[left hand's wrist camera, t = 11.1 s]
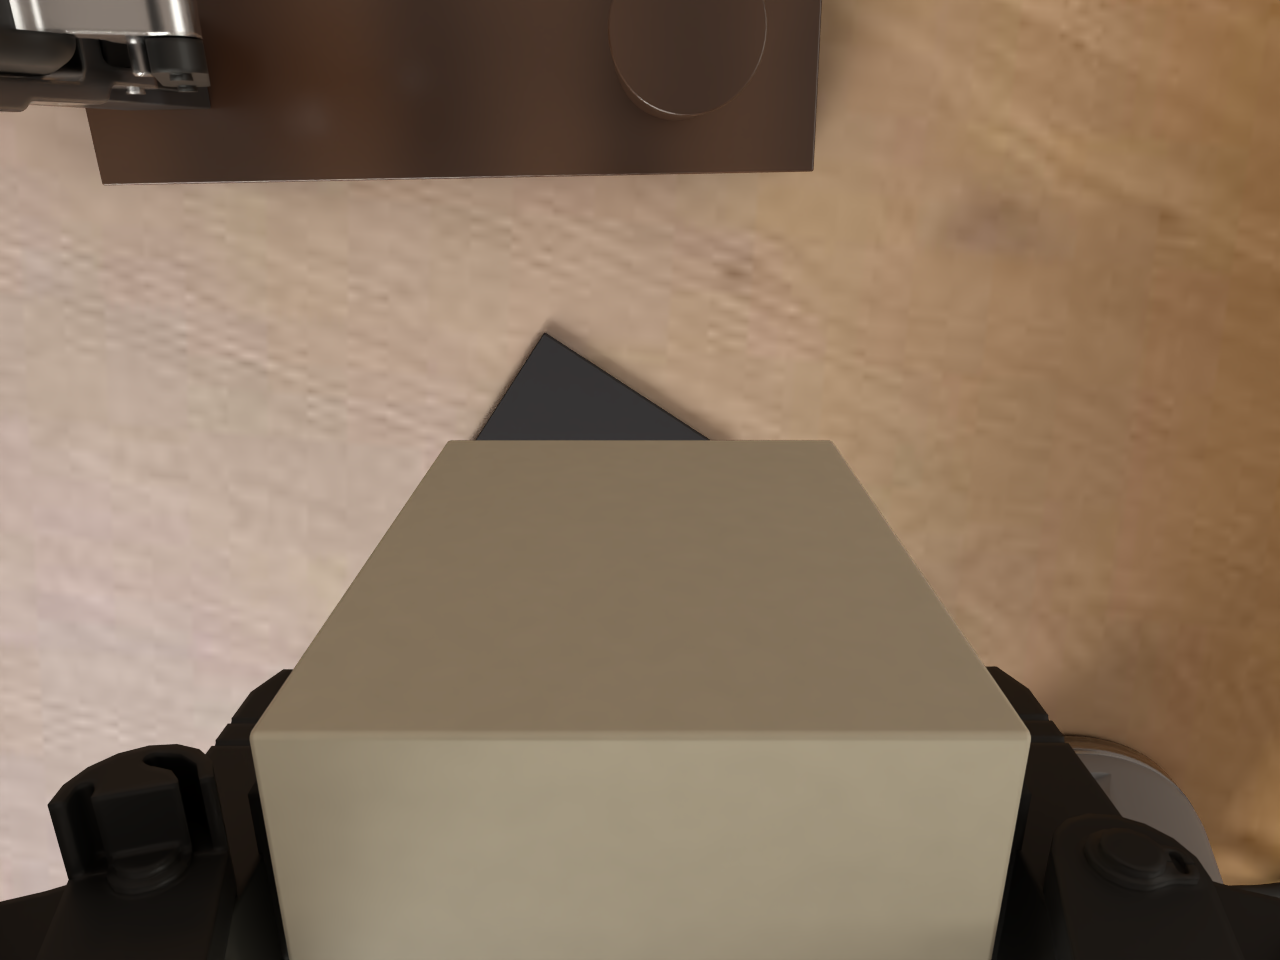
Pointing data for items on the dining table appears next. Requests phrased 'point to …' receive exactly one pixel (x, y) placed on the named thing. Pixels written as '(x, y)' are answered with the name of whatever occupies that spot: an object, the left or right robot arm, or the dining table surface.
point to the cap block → (640, 723)
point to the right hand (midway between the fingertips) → (127, 56)
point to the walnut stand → (476, 92)
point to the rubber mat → (576, 404)
